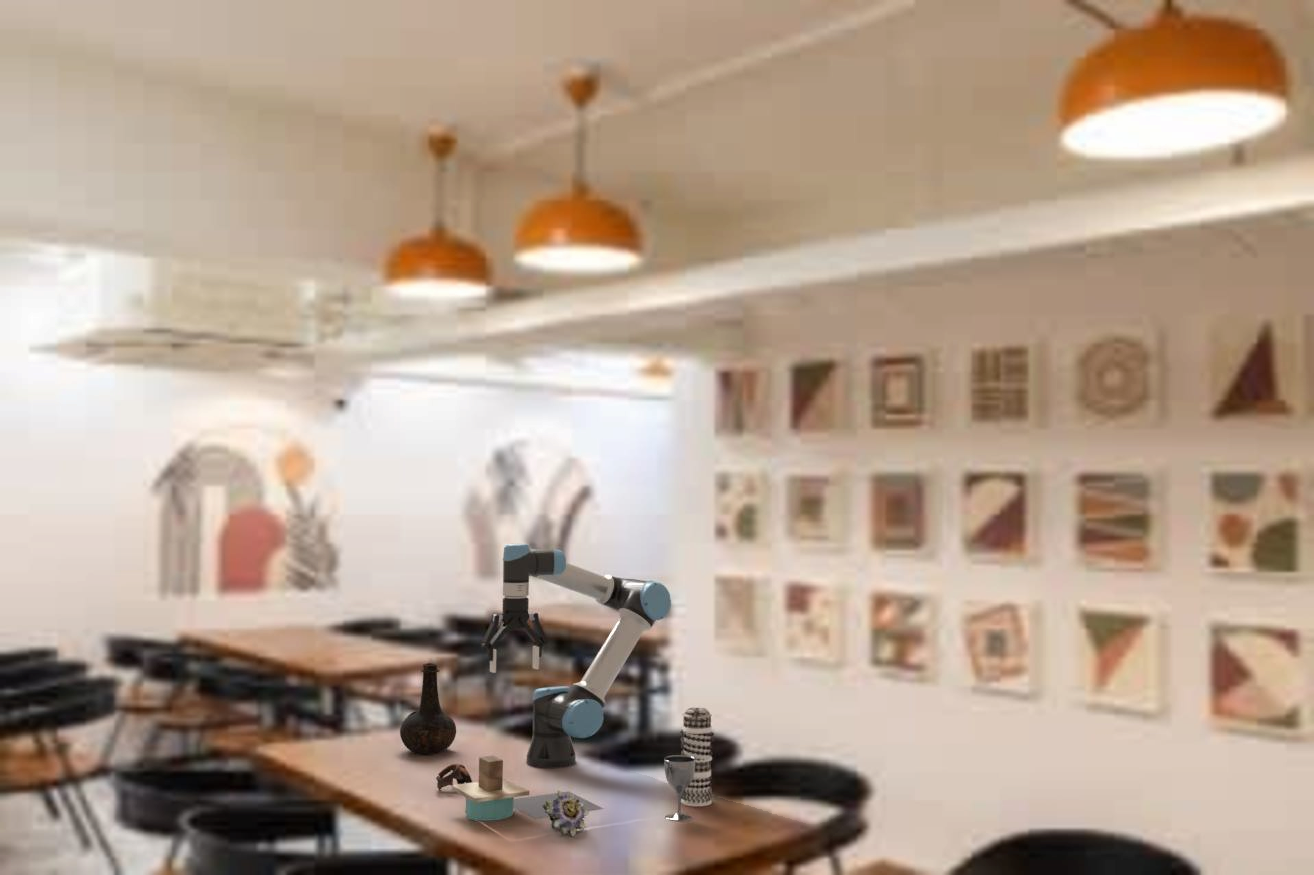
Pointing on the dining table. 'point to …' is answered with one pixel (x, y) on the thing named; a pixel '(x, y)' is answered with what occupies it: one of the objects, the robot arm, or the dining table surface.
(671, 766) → the wine glass
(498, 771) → the lid
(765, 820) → the dining table surface
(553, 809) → the passion flower
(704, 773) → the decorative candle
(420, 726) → the glass bottle
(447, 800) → the dining table surface
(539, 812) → the mat
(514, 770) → the dining table surface
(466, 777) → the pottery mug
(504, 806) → the bowl
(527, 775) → the dining table surface
